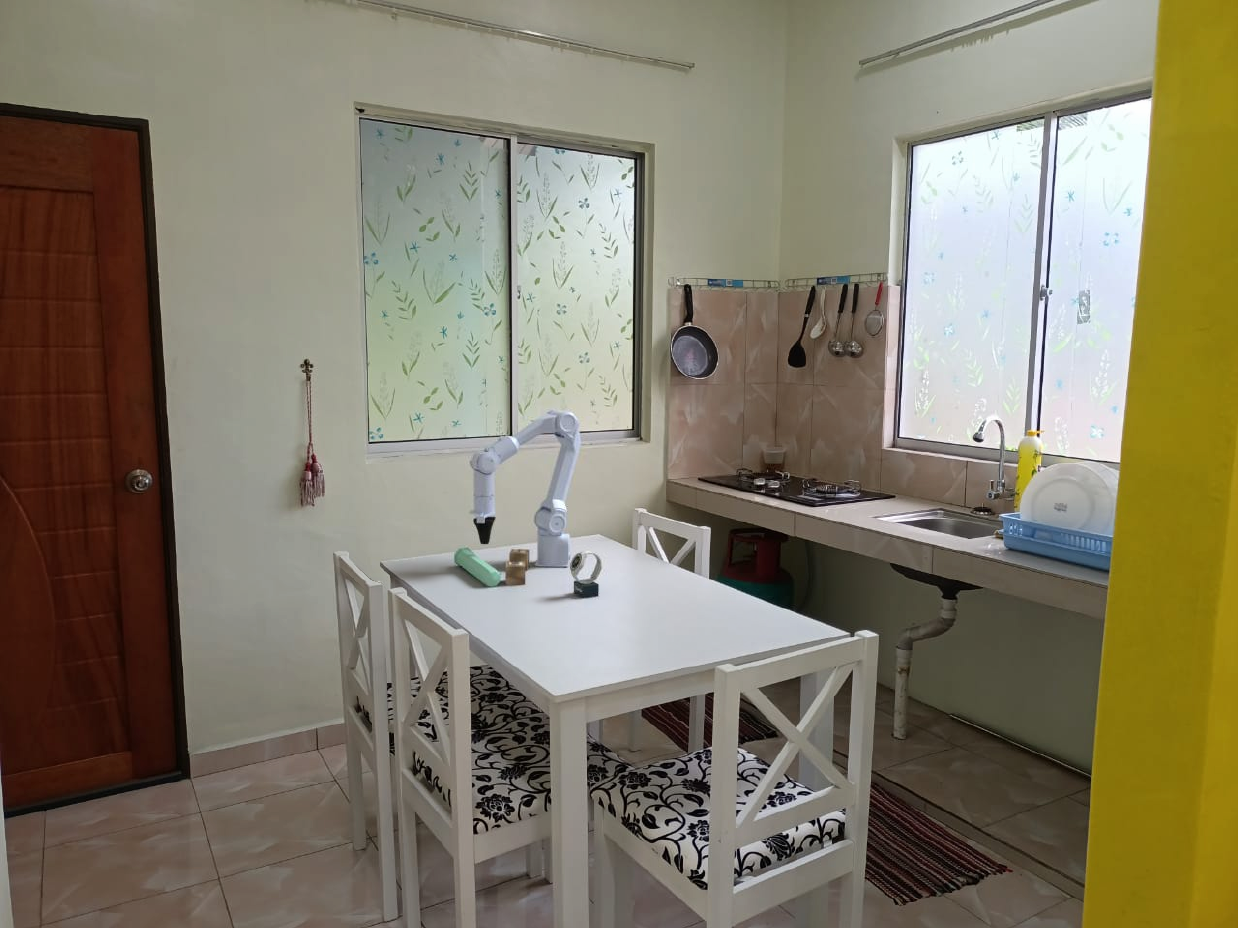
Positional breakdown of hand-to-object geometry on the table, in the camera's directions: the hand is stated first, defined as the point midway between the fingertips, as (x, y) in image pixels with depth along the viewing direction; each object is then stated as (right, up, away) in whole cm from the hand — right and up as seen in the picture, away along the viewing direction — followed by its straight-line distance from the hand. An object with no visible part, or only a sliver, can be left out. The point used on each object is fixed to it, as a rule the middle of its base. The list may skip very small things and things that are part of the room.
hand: (484, 543), depth 250 cm
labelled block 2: (+10, -9, -10) cm, 17 cm away
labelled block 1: (+9, -7, +5) cm, 13 cm away
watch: (+29, -11, -20) cm, 37 cm away
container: (-1, -9, -4) cm, 10 cm away
